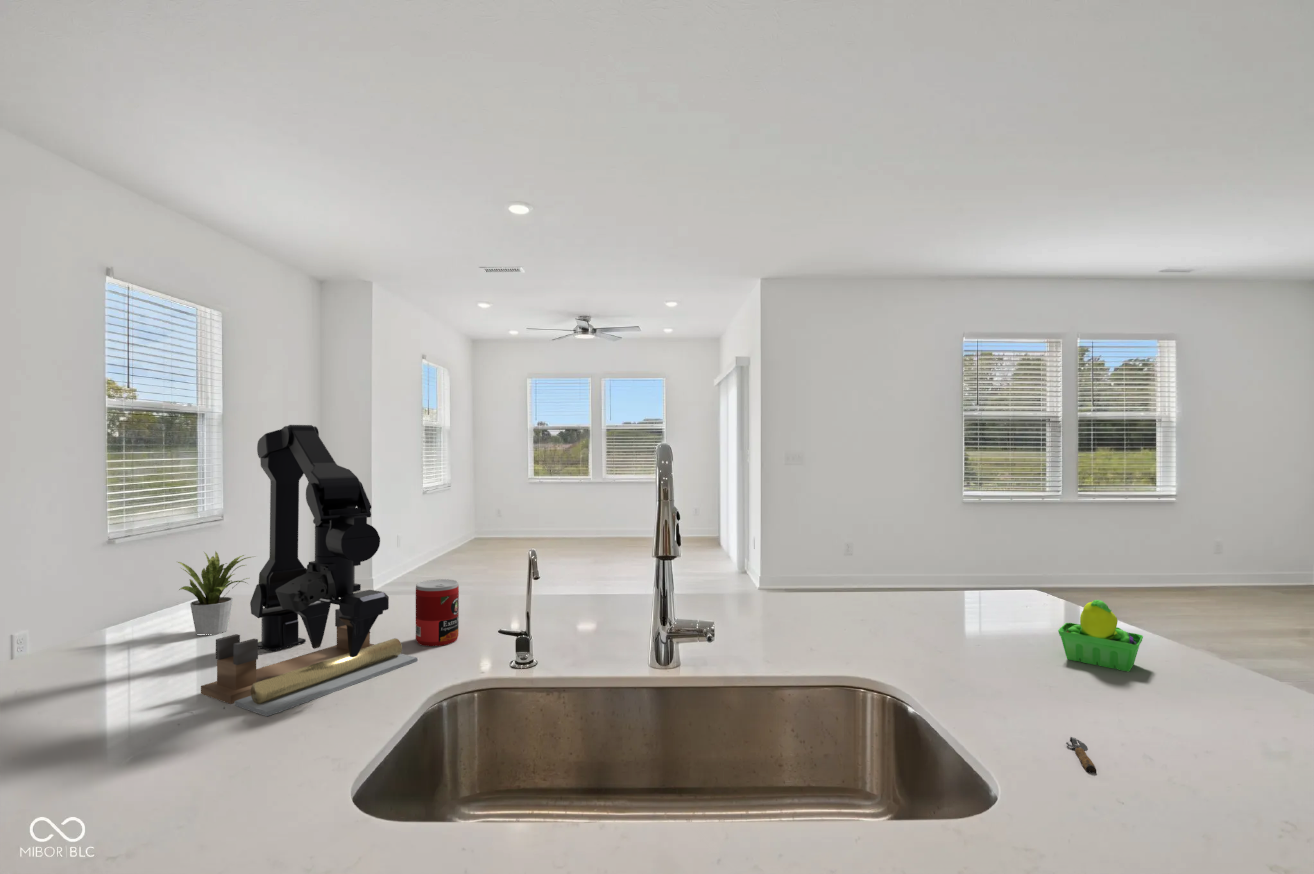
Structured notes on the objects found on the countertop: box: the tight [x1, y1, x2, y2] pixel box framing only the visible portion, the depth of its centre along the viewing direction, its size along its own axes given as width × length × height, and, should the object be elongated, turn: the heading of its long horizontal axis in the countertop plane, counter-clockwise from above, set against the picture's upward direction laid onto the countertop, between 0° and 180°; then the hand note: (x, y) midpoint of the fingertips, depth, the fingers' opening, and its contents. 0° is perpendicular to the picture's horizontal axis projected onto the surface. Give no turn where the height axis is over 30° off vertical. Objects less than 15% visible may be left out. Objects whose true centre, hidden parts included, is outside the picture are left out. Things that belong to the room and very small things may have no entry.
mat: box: [234, 653, 418, 717], centre depth 104 cm, size 8×26×1 cm, turn 151°
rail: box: [251, 637, 403, 704], centre depth 104 cm, size 24×3×3 cm, turn 151°
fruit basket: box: [1057, 599, 1144, 673], centre depth 112 cm, size 11×9×11 cm
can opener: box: [1065, 736, 1097, 774], centre depth 79 cm, size 9×2×1 cm, turn 154°
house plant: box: [177, 550, 257, 636], centre depth 130 cm, size 14×14×16 cm
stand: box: [200, 608, 375, 705], centre depth 108 cm, size 26×8×8 cm, turn 151°
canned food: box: [415, 578, 460, 647], centre depth 125 cm, size 8×8×11 cm
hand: (334, 652), depth 104 cm, fingers open, 9 cm apart
